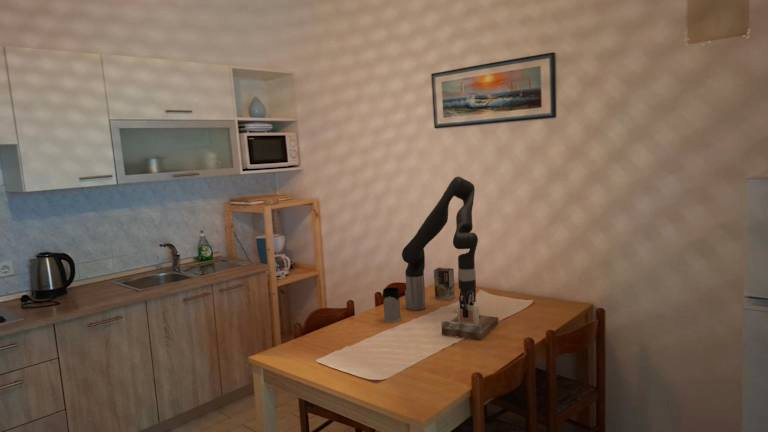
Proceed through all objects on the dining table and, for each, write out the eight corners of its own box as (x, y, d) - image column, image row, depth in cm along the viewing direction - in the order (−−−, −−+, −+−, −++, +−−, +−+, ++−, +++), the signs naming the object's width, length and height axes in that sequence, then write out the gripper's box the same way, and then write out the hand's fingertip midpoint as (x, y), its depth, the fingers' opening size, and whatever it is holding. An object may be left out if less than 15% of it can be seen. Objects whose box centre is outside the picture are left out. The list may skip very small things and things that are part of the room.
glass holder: (381, 322, 248) (379, 292, 246) (388, 313, 262) (386, 284, 260) (399, 323, 246) (397, 292, 244) (405, 313, 260) (403, 284, 258)
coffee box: (455, 297, 281) (454, 268, 279) (450, 300, 276) (448, 271, 274) (440, 295, 286) (438, 267, 284) (434, 299, 281) (433, 269, 279)
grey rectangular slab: (441, 334, 228) (441, 321, 227) (461, 319, 247) (460, 306, 246) (481, 340, 218) (480, 326, 218) (498, 323, 237) (498, 310, 236)
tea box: (462, 321, 235) (461, 303, 234) (479, 323, 230) (478, 305, 229) (458, 324, 230) (457, 307, 229) (475, 326, 226) (474, 309, 225)
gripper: (465, 273, 236) (466, 309, 238) (452, 281, 224) (454, 319, 226) (481, 274, 232) (482, 311, 234) (468, 282, 220) (470, 321, 222)
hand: (468, 315), depth 230 cm, fingers open, 6 cm apart
